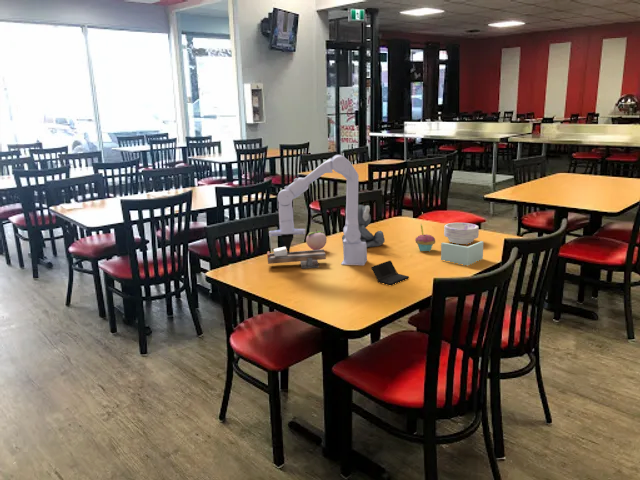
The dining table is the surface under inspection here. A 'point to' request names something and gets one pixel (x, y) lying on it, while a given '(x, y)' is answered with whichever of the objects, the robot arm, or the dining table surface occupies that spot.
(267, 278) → the dining table surface
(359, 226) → the koala plush
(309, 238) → the decorative fruit
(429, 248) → the cupcake
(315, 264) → the fulcrum stand
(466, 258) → the pale blue squat box
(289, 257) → the beam
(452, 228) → the paper bowls
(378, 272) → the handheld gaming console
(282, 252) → the block
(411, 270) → the dining table surface
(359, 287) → the dining table surface
